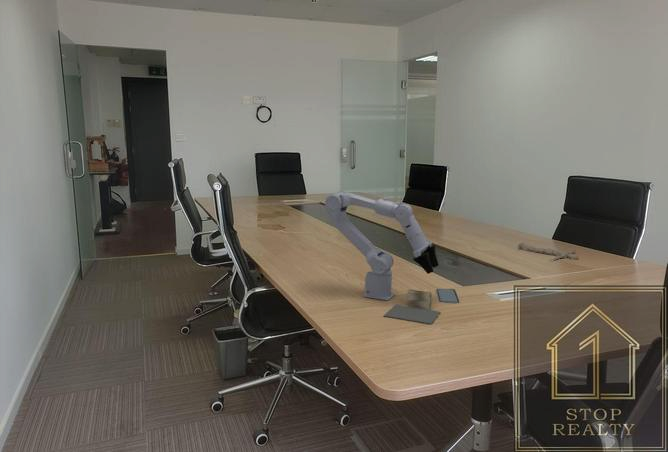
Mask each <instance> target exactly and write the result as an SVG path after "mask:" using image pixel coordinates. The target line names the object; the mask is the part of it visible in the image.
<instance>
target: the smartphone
mask: <svg viewBox="0 0 668 452" xmlns="http://www.w3.org/2000/svg"><path fill="white" fill-rule="evenodd" d="M435 291H436V295H437V299H439V300H438V303H440V302H444V303H443V304H456V303H458V304H460V303H461V302H460V299H459V296H458V294H457V290H456V289H454V288H436V289H435ZM459 302H460V303H459Z"/></svg>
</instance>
